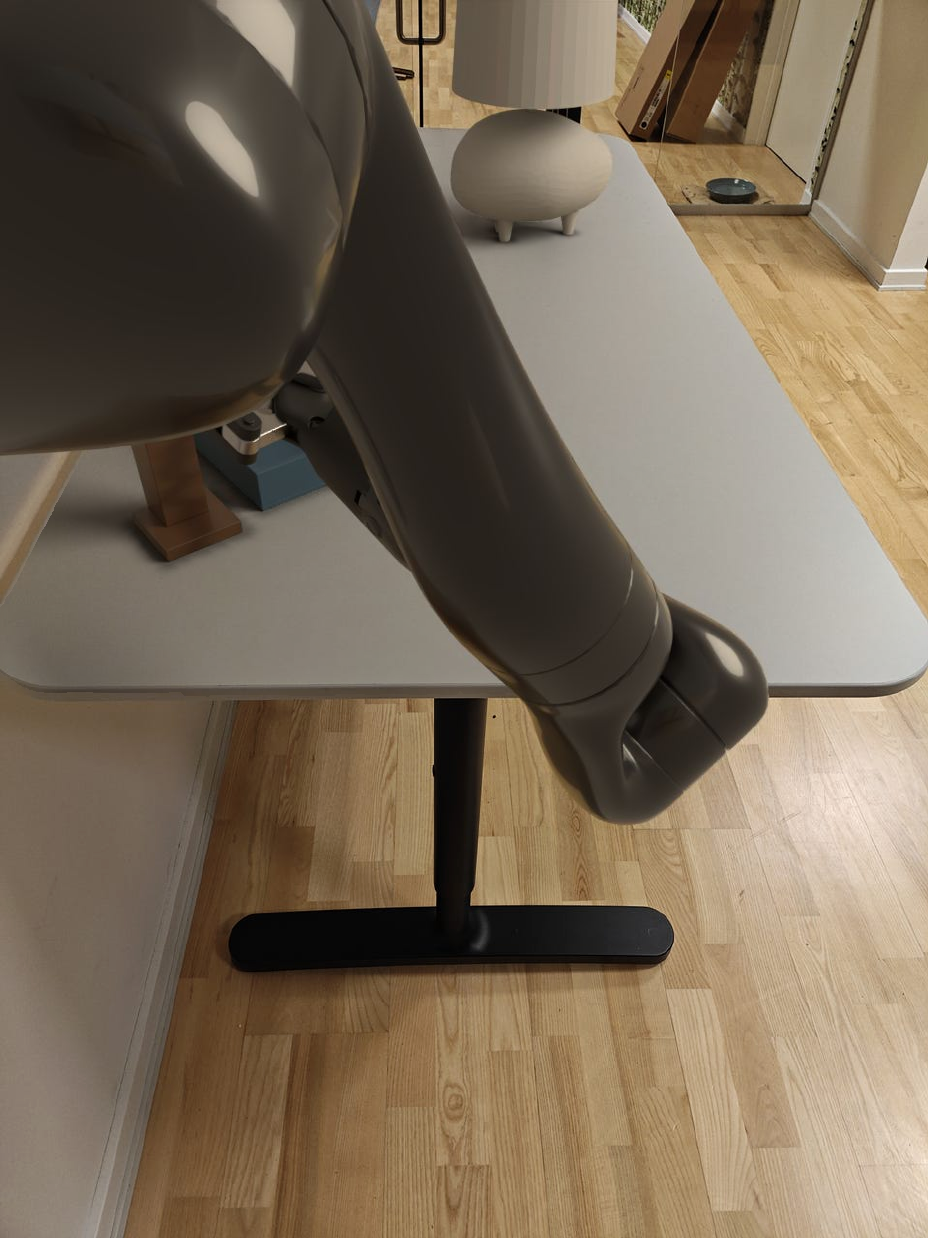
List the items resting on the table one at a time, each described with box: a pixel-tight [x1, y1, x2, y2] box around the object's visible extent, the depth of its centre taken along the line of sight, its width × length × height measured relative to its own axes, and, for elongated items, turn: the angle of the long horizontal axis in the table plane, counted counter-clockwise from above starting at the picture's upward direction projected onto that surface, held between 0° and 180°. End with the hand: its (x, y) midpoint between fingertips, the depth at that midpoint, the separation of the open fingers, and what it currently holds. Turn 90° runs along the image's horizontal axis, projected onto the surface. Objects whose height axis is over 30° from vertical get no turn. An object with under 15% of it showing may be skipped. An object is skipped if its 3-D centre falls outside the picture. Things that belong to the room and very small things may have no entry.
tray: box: [193, 431, 327, 512], centre depth 89 cm, size 19×12×4 cm, turn 38°
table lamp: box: [449, 0, 619, 243], centre depth 121 cm, size 23×22×40 cm
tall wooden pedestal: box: [130, 435, 244, 563], centre depth 69 cm, size 7×7×35 cm
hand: (237, 291), depth 51 cm, fingers open, 8 cm apart
